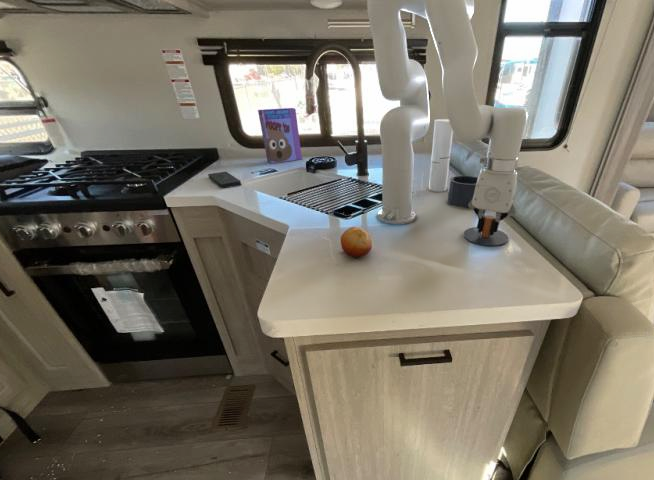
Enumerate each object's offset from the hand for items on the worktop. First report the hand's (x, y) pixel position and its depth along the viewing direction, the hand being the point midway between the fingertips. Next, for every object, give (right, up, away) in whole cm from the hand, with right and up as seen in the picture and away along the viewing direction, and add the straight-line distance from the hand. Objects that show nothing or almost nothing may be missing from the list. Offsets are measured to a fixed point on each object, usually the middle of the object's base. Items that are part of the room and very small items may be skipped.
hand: (486, 231), depth 92 cm
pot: (0, +16, +26) cm, 31 cm away
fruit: (-37, -8, -7) cm, 38 cm away
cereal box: (-82, +55, +80) cm, 127 cm away
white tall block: (-7, +26, +41) cm, 49 cm away
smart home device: (-98, +32, +47) cm, 114 cm away
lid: (0, -1, +1) cm, 2 cm away
